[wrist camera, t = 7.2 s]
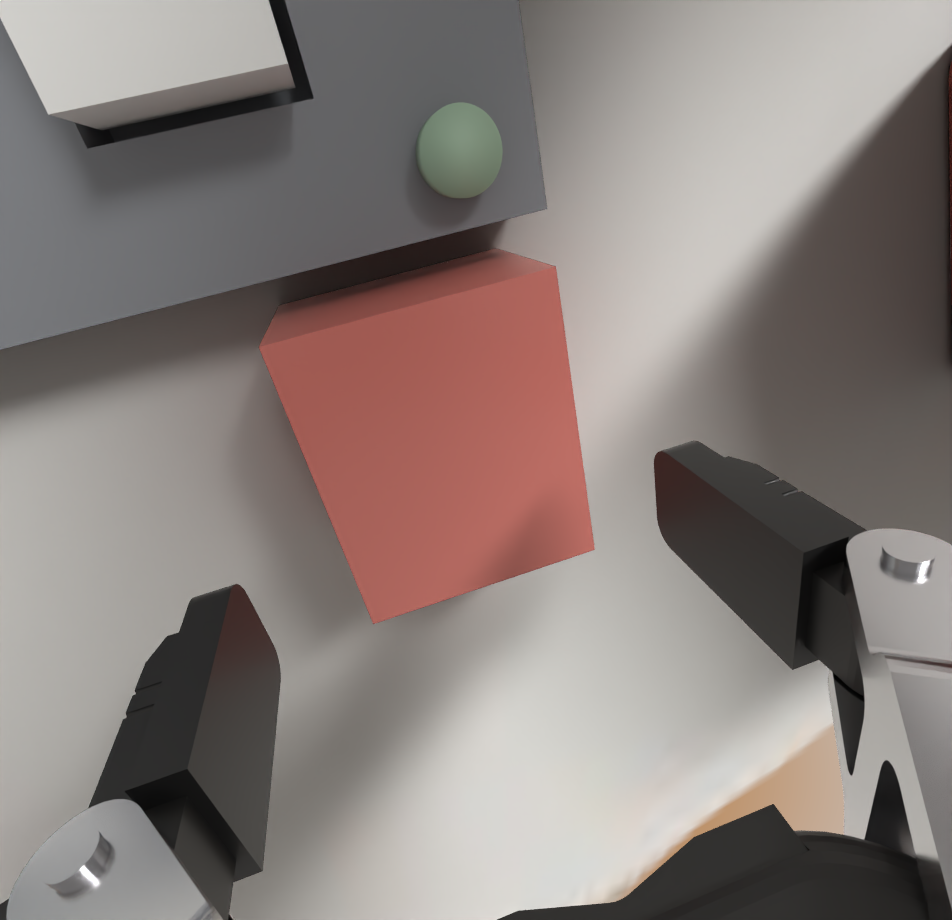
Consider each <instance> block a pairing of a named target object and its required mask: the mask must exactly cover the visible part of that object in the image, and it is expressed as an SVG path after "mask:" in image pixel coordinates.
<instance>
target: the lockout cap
mask: <svg viewBox="0 0 952 920" xmlns="http://www.w3.org/2000/svg"><path fill="white" fill-rule="evenodd" d="M259 349H260V352H261V354H262V356H263V359H264V361H265V364H266V366H267V368H268V371H269V373H270V376H271V378H272V381H273V383H274V385H275V388H276V390H277V393H278V395H279V397H280V400H281V402H282V405H283V407H284V409H285V412H286V414H287V417H288V419H289V422H290V424H291V426H292V429H293V431H294V434H295V436H296V438H297V441H298V443H299V446H300V448H301V451H302V453H303V455H304V458H305V460H306V463H307V465H308V467H309V470H310V472H311V475H312V477H313V479H314V482H315V484H316V487H317V489H318V492H319V494H320V496H321V499H322V501H323V504H324V506H325V508H326V511H327V513H328V516H329V518H330V521H331V523H332V525H333V528H334V530H335V533H336V535H337V537H338V540H339V542H340V545H341V547H342V549H343V552H344V554H345V557H346V559H347V562H348V564H349V566H350V569H351V571H352V574H353V576H354V578H355V581H356V583H357V586H358V588H359V591H360V593H361V595H362V598H363V600H364V603H365V605H366V607H367V610H368V612H369V615H370V617H371V619H372V622H373V624H375V623H378V622H381V621H384V620H387V619H390V618H393V617H396V616H399V615H402V614H405V613H408V612H411V611H414V610H417V609H420V608H423V607H426V606H429V605H432V604H435V603H438V602H441V601H443V600H446V599H449V598H452V597H455V596H458V595H461V594H464V593H467V592H470V591H473V590H476V589H479V588H482V587H485V586H488V585H491V584H494V583H497V582H500V581H503V580H506V579H509V578H512V577H515V576H518V575H521V574H524V573H527V572H530V571H533V570H536V569H539V568H542V567H545V566H548V565H551V564H554V563H557V562H560V561H563V560H566V559H569V558H572V557H574V556H577V555H580V554H583V553H586V552H589V551H592V550H595V549H594V541H593V534H592V527H591V519H590V512H589V505H588V498H587V490H586V483H585V476H584V469H583V461H582V454H581V447H580V439H579V432H578V425H577V418H576V410H575V403H574V396H573V388H572V381H571V374H570V367H569V359H568V352H567V345H566V337H565V330H564V323H563V316H562V308H561V301H560V294H559V286H558V279H557V272H556V267H555V266H552V265H549V264H545V263H542V262H539V261H536V260H532V259H529V258H526V257H523V256H519V255H516V254H513V253H509V252H506V251H503V250H500V249H496V248H495V249H491V250H488V251H484V252H480V253H476V254H472V255H469V256H465V257H461V258H457V259H453V260H450V261H446V262H442V263H438V264H434V265H431V266H427V267H423V268H419V269H415V270H412V271H408V272H404V273H400V274H396V275H393V276H389V277H385V278H381V279H378V280H374V281H370V282H366V283H362V284H359V285H355V286H351V287H347V288H343V289H340V290H336V291H332V292H328V293H324V294H321V295H317V296H313V297H309V298H305V299H302V300H298V301H294V302H290V303H286V304H283V305H279V306H278V308H277V310H276V312H275V315H274V317H273V319H272V321H271V323H270V325H269V327H268V329H267V331H266V333H265V335H264V337H263V339H262V341H261V343H260V345H259Z"/></svg>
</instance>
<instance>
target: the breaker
mask: <svg viewBox="0 0 952 920" xmlns="http://www.w3.org/2000/svg"><path fill="white" fill-rule="evenodd" d="M0 19H1V21H2V23H3V25H4V27H5V29H6V31H7V33H8V35H9V37H10V39H11V41H12V43H13V45H14V47H15V49H16V51H17V53H18V55H19V57H20V59H21V61H22V63H23V65H24V67H25V69H26V71H27V73H28V75H29V77H30V79H31V81H32V83H33V85H34V87H35V89H36V91H37V93H38V95H39V97H40V99H41V101H42V103H43V105H44V107H45V109H46V111H47V113H48V115H52V116H55V117H58V118H62V119H65V120H69V121H72V122H75V123H79V124H82V125H85V126H89V127H92V128H96V129H99V130H106V129H110V128H115V127H120V126H124V125H129V124H133V123H138V122H142V121H147V120H152V119H156V118H161V117H165V116H170V115H174V114H179V113H183V112H188V111H193V110H197V109H202V108H206V107H211V106H215V105H220V104H225V103H229V102H234V101H238V100H243V99H247V98H252V97H257V96H261V95H266V94H270V93H275V92H279V91H284V90H288V89H293V88H296V87H295V84H294V81H293V78H292V74H291V71H290V68H289V65H288V61H287V58H286V55H285V52H284V48H283V45H282V42H281V39H280V35H279V32H278V29H277V26H276V23H275V19H274V16H273V13H272V10H271V6H270V3H269V0H0Z"/></svg>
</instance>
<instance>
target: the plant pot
mask: <svg viewBox="0 0 952 920" xmlns="http://www.w3.org/2000/svg"><path fill="white" fill-rule="evenodd" d="M949 154H950V230H951V303H952V62H951V65H950V71H949Z"/></svg>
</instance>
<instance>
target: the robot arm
mask: <svg viewBox="0 0 952 920" xmlns="http://www.w3.org/2000/svg"><path fill="white" fill-rule="evenodd" d="M654 473H655V490H656V507H657V520H658V525H659V528H660V531H661V534H662V536H663V538H664V540H665V541H666V543H667V545H668V546H669V547H670V548H671V549H672V550H673V551H674V552H675V553H676V554H677V555H678V556H679V557H680V558H681V559H682V560H683V561H684V562H685V563H686V564H687V565H688V566H689V567H690V568H691V569H692V570H693V571H694V572H695V573H696V574H697V575H698V576H699V577H700V578H701V579H702V580H703V581H704V582H705V583H706V584H707V585H708V586H709V587H710V588H711V589H712V590H713V591H714V592H715V593H716V594H717V595H718V596H719V597H720V598H721V599H722V600H723V601H724V602H725V603H726V604H727V605H728V606H729V607H730V608H731V609H732V610H733V611H734V612H735V613H736V614H737V615H738V616H739V617H740V618H741V619H742V620H743V621H744V622H745V623H746V624H747V625H748V626H749V627H750V628H751V629H752V630H753V631H754V632H755V633H756V634H757V635H758V636H759V637H760V638H761V639H762V640H763V641H764V642H765V643H766V644H767V645H768V646H769V647H770V648H771V649H772V650H773V651H774V652H775V653H776V654H777V655H778V656H779V657H780V658H781V659H782V660H783V661H784V662H785V663H786V664H787V665H788V666H789V667H790V668H791V669H792V670H793V669H796V668H798V667H801V666H804V665H806V664H809V663H811V662H814V661H817V660H820V661H821V662H822V663H823V664H825V665H826V666H827V667H828V668H829V675H828V689H829V695H830V702H831V709H832V716H833V723H834V730H835V737H836V743H837V750H838V757H839V764H840V771H841V777H842V785H843V793H844V835H841V834H836V833H829V832H820V831H793V829H792V828H791V827H790V825H789V824H788V823H787V821H786V820H785V819H784V817H783V816H782V815H781V813H780V812H779V811H778V810H777V808H776V807H775V805H774V804H772V805H770V806H767V807H765V808H763V809H760V810H758V811H756V812H753V813H751V814H749V815H746V816H744V817H741V818H739V819H736V820H734V821H732V822H729V823H727V824H724V825H722V826H720V827H718V828H715V829H713V830H710V831H708V832H705V833H703V834H701V835H698V836H696V837H694V838H693V839H692V840H690V841H689V842H688V843H687V844H686V845H685V846H683V847H682V848H681V849H680V850H679V851H678V852H677V853H676V854H674V855H673V856H672V857H671V858H670V859H669V860H667V861H666V862H665V863H664V864H663V865H662V866H661V867H660V868H658V869H657V870H656V871H655V872H654V873H653V874H652V875H650V876H649V877H648V878H647V879H646V880H645V881H644V882H642V883H641V884H640V885H639V886H638V887H637V888H636V889H634V890H633V891H632V892H631V893H630V894H629V895H627V896H626V897H625V898H623V899H621V900H619V901H617V902H612V903H604V904H592V905H581V906H569V907H557V908H546V909H534V910H523V911H517V912H514V913H512V914H510V915H507V916H505V917H502V918H500V919H498V920H952V545H951V544H949V543H948V542H946V541H943V540H941V539H939V538H937V537H934V536H931V535H928V534H924V533H921V532H917V531H911V530H906V529H895V528H884V529H874V530H869V531H867V530H865V529H864V528H862V527H860V526H859V525H857V524H855V523H854V522H852V521H850V520H849V519H847V518H845V517H844V516H842V515H840V514H839V513H837V512H835V511H834V510H832V509H830V508H829V507H827V506H825V505H824V504H822V503H820V502H819V501H817V500H815V499H814V498H812V497H810V496H809V495H807V494H805V493H804V492H798V491H797V488H795V487H794V486H792V485H790V484H789V483H787V482H785V481H784V480H782V481H780V480H779V477H777V476H775V475H774V474H772V473H770V472H769V471H767V470H765V469H764V468H762V467H760V466H759V465H757V464H754V463H750V462H747V461H743V460H740V459H736V458H733V457H729V456H728V457H725V458H724V457H722V456H721V455H719V454H718V453H716V452H714V451H713V450H711V449H710V448H708V447H707V446H705V445H703V444H702V443H700V442H698V441H691V442H688V443H685V444H682V445H679V446H676V447H672V448H669V449H666V450H663V451H660V452H658V453H657V454H656V456H655V459H654ZM280 681H281V673H280V665H279V660H278V656H277V653H276V650H275V647H274V645H273V643H272V641H271V639H270V637H269V635H268V634H267V632H266V630H265V628H264V626H263V624H262V622H261V620H260V618H259V616H258V614H257V613H256V611H255V609H254V607H253V605H252V603H251V601H250V599H249V597H248V595H247V594H246V592H245V590H244V589H243V588H242V587H241V586H240V585H238V584H235V585H232V586H229V587H225V588H222V589H219V590H216V591H213V592H210V593H206V594H203V595H200V596H197V597H194V598H192V599H191V601H190V603H189V605H188V608H187V611H186V614H185V617H184V619H183V622H182V625H181V628H180V631H179V633H176V634H173V635H170V636H167V637H166V638H165V640H164V641H163V642H162V643H161V645H160V646H159V647H158V648H157V649H156V651H155V652H154V653H153V654H152V656H151V657H150V658H149V659H148V661H147V662H146V663H145V666H144V668H143V671H142V673H141V676H140V678H139V681H138V683H137V686H136V688H135V692H136V695H133V696H132V699H131V701H130V704H129V706H128V709H127V711H126V715H127V718H126V719H123V721H122V724H121V727H120V729H119V732H118V734H117V737H116V739H115V742H114V744H113V747H112V749H111V752H110V754H109V757H108V760H107V762H106V765H105V767H104V770H103V772H102V775H101V777H100V780H99V782H98V785H97V787H96V790H95V793H94V795H93V798H92V800H91V803H90V805H89V808H88V809H87V810H85V811H83V812H81V813H80V814H78V815H77V816H75V817H74V818H72V819H71V820H69V821H68V822H67V823H65V824H64V825H63V826H62V827H60V828H59V829H58V830H57V831H56V832H55V833H54V834H53V835H51V836H50V837H49V838H48V839H47V840H46V841H45V842H44V844H43V845H42V846H41V847H40V848H39V849H38V850H37V851H36V853H35V854H34V855H33V856H32V858H31V859H30V860H29V862H28V863H27V864H26V866H25V867H24V869H23V870H22V872H21V874H20V875H19V877H18V879H17V881H16V883H15V885H14V887H13V890H12V892H11V894H10V898H9V899H8V900H6V901H5V902H3V903H2V904H0V920H235V919H234V917H233V916H232V915H231V914H230V913H229V909H230V902H231V894H232V887H233V882H235V881H238V880H241V879H243V878H246V877H248V876H251V875H254V874H256V873H259V872H261V871H263V860H264V850H265V839H266V829H267V818H268V808H269V797H270V787H271V776H272V766H273V755H274V745H275V734H276V724H277V713H278V703H279V692H280Z"/></svg>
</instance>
